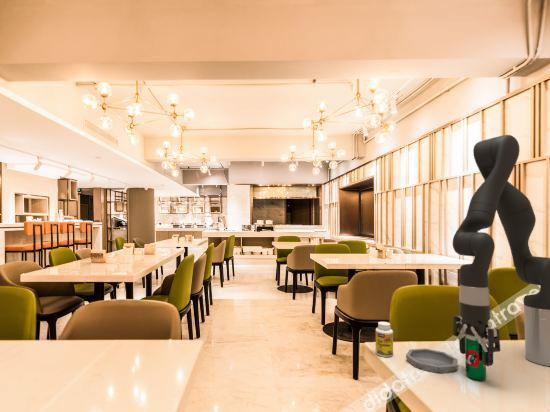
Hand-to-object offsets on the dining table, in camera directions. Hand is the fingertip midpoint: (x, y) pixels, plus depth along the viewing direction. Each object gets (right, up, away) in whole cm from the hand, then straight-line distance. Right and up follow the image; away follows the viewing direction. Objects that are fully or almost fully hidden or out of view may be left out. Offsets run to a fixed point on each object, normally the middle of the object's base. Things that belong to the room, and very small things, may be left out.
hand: (475, 359), depth 94 cm
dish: (-8, -6, +9) cm, 14 cm away
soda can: (0, -5, 0) cm, 5 cm away
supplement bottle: (-21, -6, +16) cm, 27 cm away
